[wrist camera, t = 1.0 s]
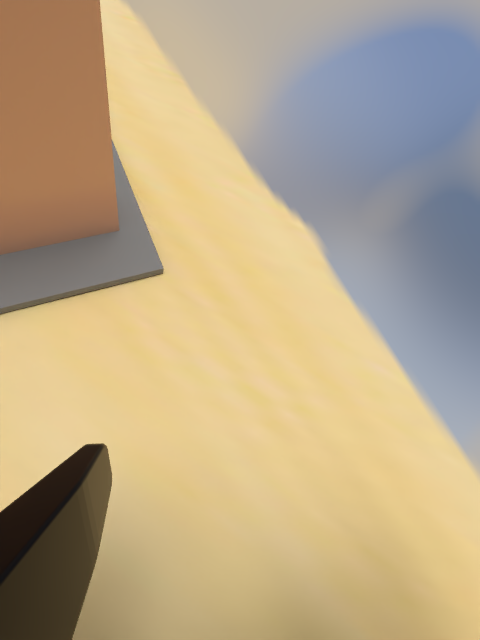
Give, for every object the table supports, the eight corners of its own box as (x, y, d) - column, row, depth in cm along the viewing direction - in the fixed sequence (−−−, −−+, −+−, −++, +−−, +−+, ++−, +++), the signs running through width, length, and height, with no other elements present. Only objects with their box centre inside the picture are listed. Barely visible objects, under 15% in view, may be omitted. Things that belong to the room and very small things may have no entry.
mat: (163, 273, 22) (163, 268, 21) (-102, 339, 18) (-108, 335, 17) (67, 33, 28) (66, 25, 28) (-145, 41, 24) (-150, 32, 24)
